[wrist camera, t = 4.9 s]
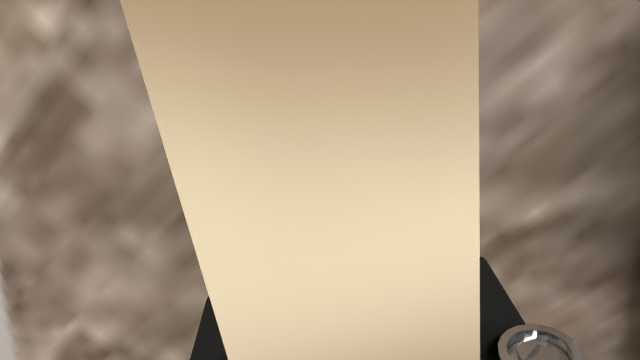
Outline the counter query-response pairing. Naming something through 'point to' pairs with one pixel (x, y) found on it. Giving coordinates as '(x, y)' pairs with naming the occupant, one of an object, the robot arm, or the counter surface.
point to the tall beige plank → (325, 169)
